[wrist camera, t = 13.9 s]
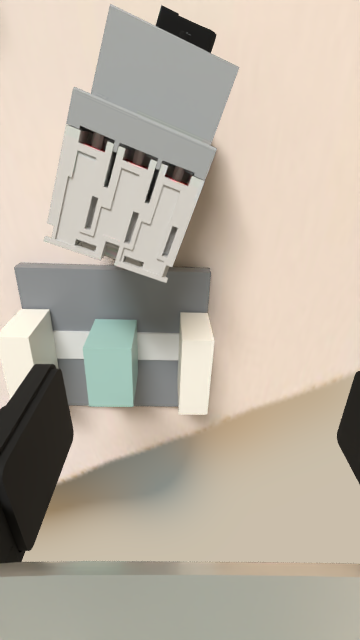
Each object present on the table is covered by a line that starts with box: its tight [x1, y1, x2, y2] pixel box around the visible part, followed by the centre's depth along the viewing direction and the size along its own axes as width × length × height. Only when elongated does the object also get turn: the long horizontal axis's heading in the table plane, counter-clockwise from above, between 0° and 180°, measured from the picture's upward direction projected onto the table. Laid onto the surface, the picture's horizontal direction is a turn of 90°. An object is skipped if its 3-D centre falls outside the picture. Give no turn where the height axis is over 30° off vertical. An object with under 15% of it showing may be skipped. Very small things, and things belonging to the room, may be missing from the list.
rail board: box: [0, 263, 215, 415], centre depth 36 cm, size 20×18×8 cm
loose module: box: [83, 319, 138, 407], centre depth 35 cm, size 4×7×6 cm, turn 178°
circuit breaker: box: [44, 4, 239, 283], centre depth 24 cm, size 8×14×15 cm, turn 159°
